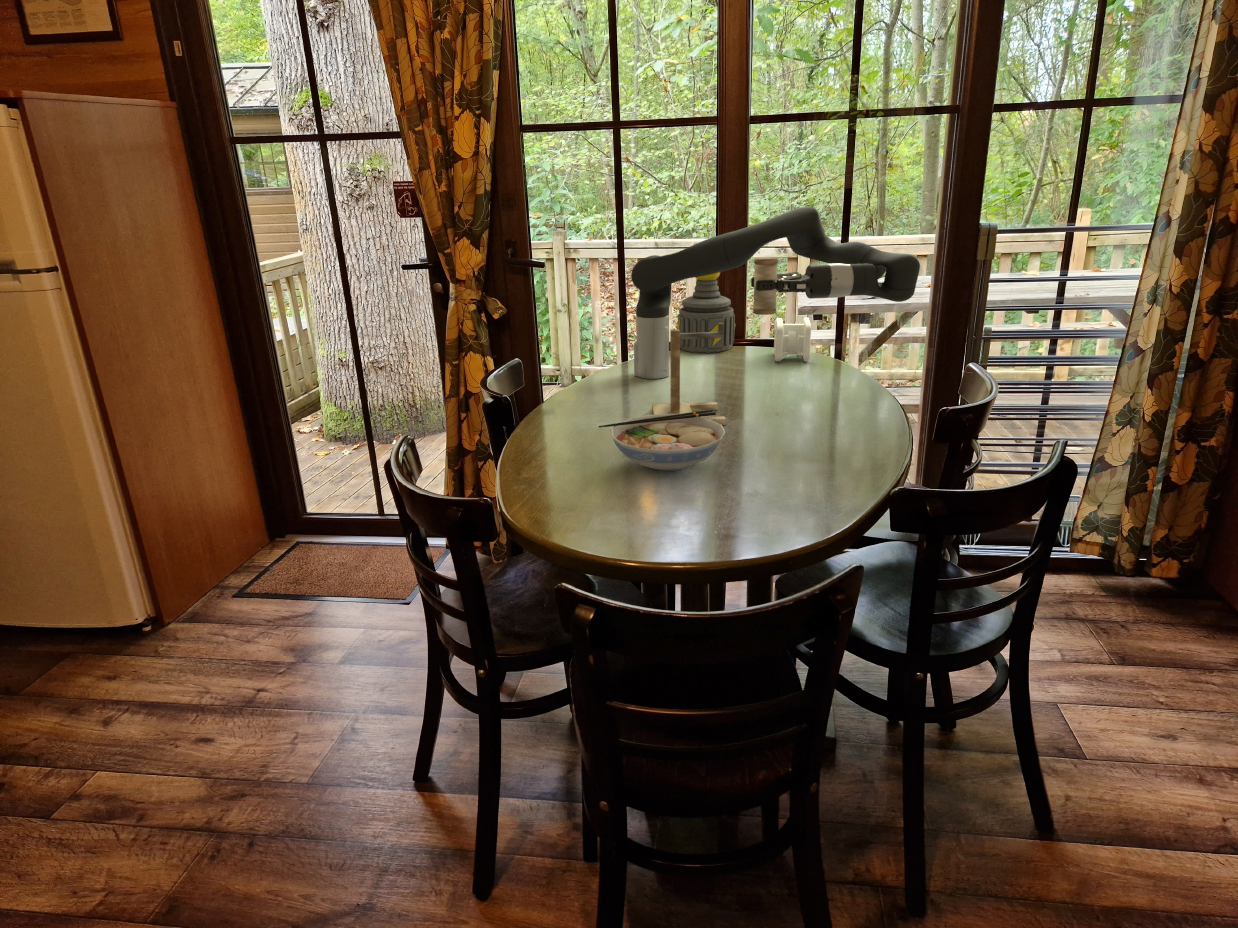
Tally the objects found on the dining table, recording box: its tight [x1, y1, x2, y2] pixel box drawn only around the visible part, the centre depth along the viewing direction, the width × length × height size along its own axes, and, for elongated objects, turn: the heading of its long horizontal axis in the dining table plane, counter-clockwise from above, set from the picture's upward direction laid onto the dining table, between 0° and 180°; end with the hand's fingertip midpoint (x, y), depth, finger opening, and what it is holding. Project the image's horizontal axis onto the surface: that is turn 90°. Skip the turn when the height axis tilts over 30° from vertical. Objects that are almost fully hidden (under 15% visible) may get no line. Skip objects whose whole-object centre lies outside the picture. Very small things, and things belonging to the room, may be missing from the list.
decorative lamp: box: [675, 272, 737, 354], centre depth 253 cm, size 19×19×30 cm
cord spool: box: [752, 256, 779, 316], centre depth 177 cm, size 5×5×12 cm
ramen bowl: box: [598, 409, 726, 473], centre depth 156 cm, size 25×23×8 cm
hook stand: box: [651, 323, 727, 426], centre depth 183 cm, size 16×14×22 cm
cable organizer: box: [773, 317, 812, 363], centre depth 239 cm, size 15×11×12 cm
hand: (754, 284), depth 177 cm, fingers closed on cord spool, 5 cm apart
